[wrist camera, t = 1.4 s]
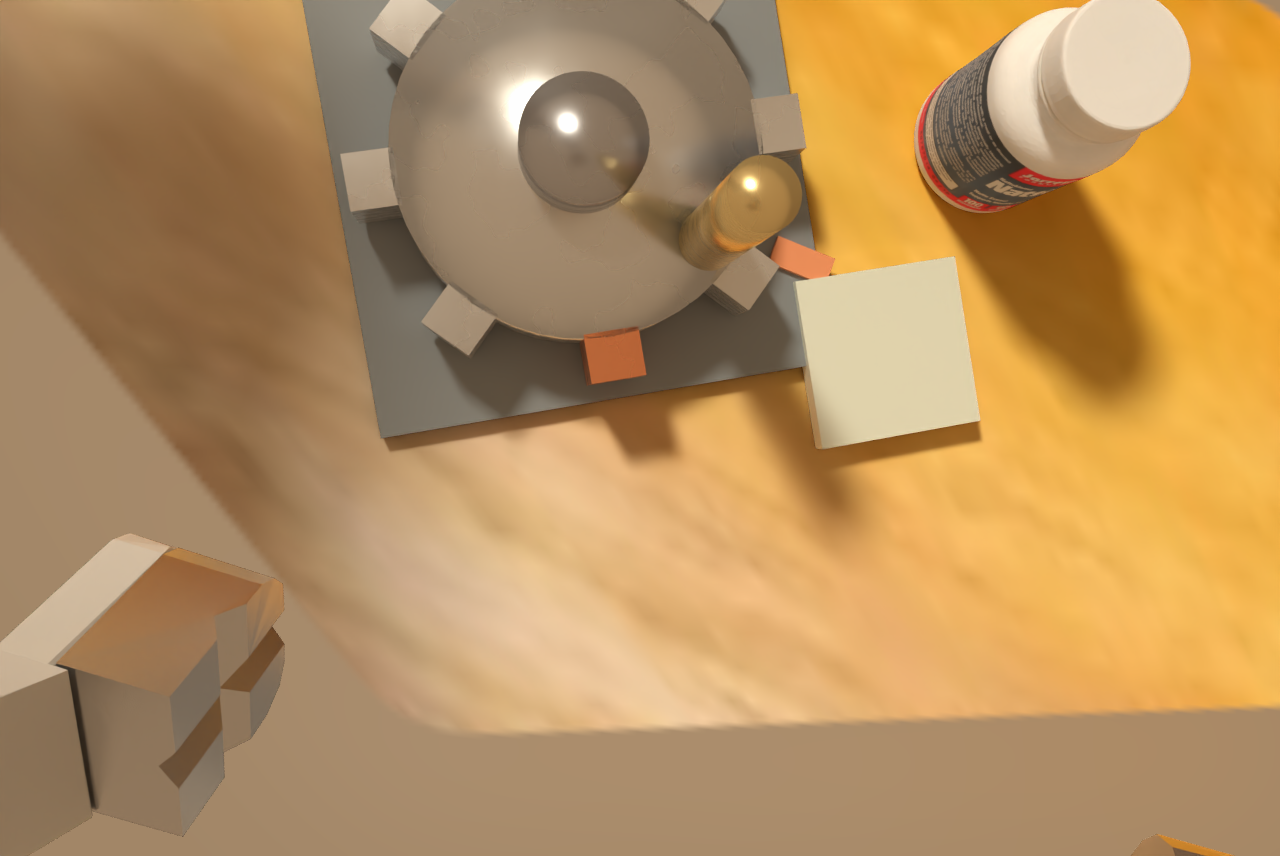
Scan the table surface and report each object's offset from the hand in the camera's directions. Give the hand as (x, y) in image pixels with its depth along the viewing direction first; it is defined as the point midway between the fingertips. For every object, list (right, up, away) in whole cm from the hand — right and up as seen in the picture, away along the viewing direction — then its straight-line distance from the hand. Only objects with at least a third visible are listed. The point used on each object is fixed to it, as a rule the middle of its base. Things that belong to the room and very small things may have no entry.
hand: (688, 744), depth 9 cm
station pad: (+8, +6, +27) cm, 29 cm away
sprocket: (-3, +12, +26) cm, 29 cm away
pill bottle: (+12, +13, +28) cm, 33 cm away
